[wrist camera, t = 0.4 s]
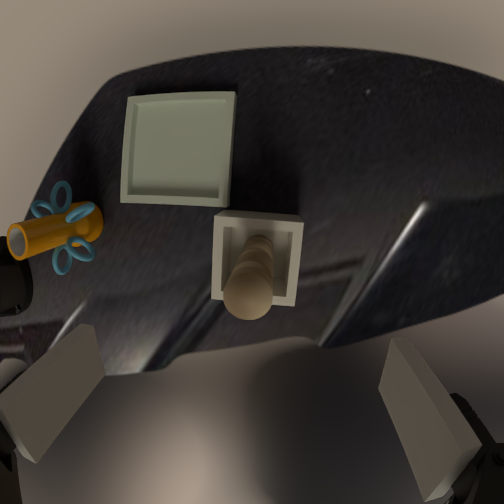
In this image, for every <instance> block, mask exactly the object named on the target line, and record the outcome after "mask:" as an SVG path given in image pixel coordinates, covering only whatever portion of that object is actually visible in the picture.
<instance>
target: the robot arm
mask: <svg viewBox="0 0 504 504" xmlns="http://www.w3.org/2000/svg"><path fill="white" fill-rule="evenodd" d="M32 295H33V284H32V277H31V273H30V269H29V266H28V263H27V261H26V259H23V260H16V259H15V258H14V257H13V256H12V255H11V253H10V251H9V248H8V244H7V237H5V236H1V237H0V317H5V316H14V315H18V314H20V313H21V312H23V311H25V310H26V309H27V308H28V307H29V306H30V303H31V301H32ZM105 374H106V373H105V370H104V366H103V362H102V359H101V355H100V351H99V347H98V343H97V339H96V335H95V331H94V326H92V325H86V324H80V325H79V326H77V327H76V328H75V329H74V330H73V331H71V332H70V333H69V334H68V335H67V336H65V337H64V338H63V339H62V340H61V341H59V342H58V343H57V344H56V345H55V346H54V347H52V348H51V349H50V350H49V351H48V352H47V353H45V354H44V355H43V356H42V357H41V358H40V359H39V360H37V361H36V362H35V363H34V364H33V365H32V366H31V367H29V368H28V369H26V370H24V371H22V372H20V373H19V374H17V375H16V376H15V377H14V378H13V379H12V381H10V382H9V383H7V384H6V386H4V387H3V388H2V389H1V390H0V504H22V498H21V493H20V486H19V477H18V468H17V458H16V454H15V452H14V451H13V450H14V449H15V448H16V447H17V448H18V449H19V451H20V452H21V454H22V455H23V457H25V458H27V459H29V460H30V461H32V462H34V463H36V464H37V463H38V462H39V460H40V459H41V457H42V456H43V455H44V453H45V452H46V451H47V449H48V448H49V447H50V445H51V444H52V442H53V441H54V440H55V439H56V437H57V436H58V434H59V433H60V432H61V430H62V429H63V428H64V427H65V425H66V424H67V423H68V421H69V420H70V419H71V417H72V416H73V415H74V413H75V412H76V411H77V410H78V408H79V407H80V406H81V404H82V403H83V402H84V401H85V399H86V398H87V397H88V395H89V394H90V393H91V391H92V390H93V389H94V388H95V386H96V385H97V384H98V383H99V381H100V380H101V379H102V378H103V377H104V375H105ZM378 389H379V391H380V394H381V395H382V398H383V400H384V402H385V405H386V407H387V409H388V412H389V414H390V416H391V419H392V421H393V423H394V426H395V428H396V431H397V433H398V435H399V438H400V440H401V443H402V445H403V448H404V450H405V453H406V455H407V457H408V460H409V463H410V465H411V468H412V470H413V473H414V476H415V478H416V481H417V484H418V486H419V489H420V492H421V495H422V497H423V500H424V502H426V501H429V500H432V499H435V498H438V497H441V496H443V495H444V494H445V493H446V492H447V491H448V490H449V488H450V487H452V489H453V491H454V494H453V495H452V496H451V497H450V498H449V499H448V500H447V501H446V502H445V503H444V504H504V443H496V442H495V441H494V439H493V438H492V436H491V435H490V433H489V432H488V430H487V429H486V427H485V426H484V425H483V423H482V421H481V420H480V419H479V418H477V414H476V413H475V412H474V410H473V411H472V407H471V406H470V405H469V403H468V402H467V400H466V399H464V398H463V397H461V396H460V395H459V394H457V393H453V394H448V392H447V391H446V390H445V388H444V387H443V385H442V384H441V382H440V381H439V380H438V378H437V377H436V376H435V374H434V373H433V372H432V370H431V369H430V367H429V366H428V365H427V363H426V362H425V361H424V359H423V358H422V357H421V355H420V354H419V353H418V351H417V350H416V349H415V347H414V346H413V345H412V343H411V342H410V341H409V339H408V338H407V337H401V338H392V339H391V341H390V346H389V350H388V354H387V358H386V362H385V366H384V370H383V373H382V377H381V381H380V384H379V388H378Z"/></svg>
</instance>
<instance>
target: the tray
mask: <svg viewBox="0 0 504 504" xmlns="http://www.w3.org/2000/svg"><path fill="white" fill-rule="evenodd" d="M236 106H237V95H236V93H235V92H226V91H216V92H181V93H165V94H152V95H142V96H133V97H128V102H127V110H126V119H125V129H124V140H123V153H122V171H121V203H151V204H176V205H196V206H214V207H228V206H230V190H231V175H232V160H233V145H234V132H235V118H236Z"/></svg>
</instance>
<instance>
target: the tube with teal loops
mask: <svg viewBox="0 0 504 504" xmlns="http://www.w3.org/2000/svg"><path fill="white" fill-rule="evenodd" d="M60 187H64V188H65V189H66V192H67V199H66V203H65V205H64V206H63V207H62V208H59V207H58V206H57V203H56V195H57V191H58V190H59V188H60ZM71 201H72V190H71V187H70V185H69V183H68V182H66V181H59V182H57V183H56V184H55V185H54V187H53V189H52V192H51V197H50V202H51V204H50V203H48V202H45V201H42V200H37V201H34V202H33V203H32V205H31V210H32V213H33V214H34V215H35V216H36V217H37V218H35V219H31V220H27V221H23V222H19V223H14V224H12V225H11V226H10V227H9V229H8V232H7V244H8V248H9V251H10V253H11V255H12V256H13V257H14V258H15V259H16V260H23V259H26V258H28V257H31V256H33V255H36V254H39V253H41V252H44V251H46V250H49V249H52V248H55V247H56V248H55V250H54V252H53V257H52V264H53V268H54V270H55V271H56V272H57V273H58V274H60V275H63V274H65V273H67V272H68V271H69V269H70V267H71V265H72V261H73V257H75V258H76V259H78V260H81V261H91V260H92V259H93V258H94V257H95V250H94V248H93V246H92V245H91V244H90V243H89V242H91V241H94V240H96V239H97V238H98V237H99V236H100V234H101V232H102V230H103V224H104V221H103V215H102V212H101V210H100V209H99V207H98V206H97V205H96V204H95V203H93V202H90V201H82V202H76V203H71ZM36 206H43V207H45V208H47V209H49V210H50V211H51V213H52V215H48V216H47V215H44V214H42V213H40V212H39V211H38V210H37V208H36ZM81 245H83V246H85V247H86V248H87V249H88V251H89V253H90V254H89V255H83V254H80V253H79V252H77V251H76V250H75V249H74V248H73V247H78V246H81ZM63 248H65V249H66V251H67V254H68V259H67V263H66V265H65V267H64V268H63V269H61V268H60V267H59V266H58V255H59V252H60V251H61V249H63Z"/></svg>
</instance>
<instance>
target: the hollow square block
mask: <svg viewBox="0 0 504 504" xmlns="http://www.w3.org/2000/svg"><path fill="white" fill-rule="evenodd" d="M303 225H304V223H303V221H302V220H301V218H300V217H299V216H298V215H290V214H279V213H266V212H253V211H239V210H224V211H222V212H220V213H219V214H217V215H215V216H214V235H213V262H212V297H211V299H218V300H223V292H224V289H225V286H226V284H227V282H228V280H229V278H230V275H231V273H232V271H233V269H234V267H235V265H236V262H237V260H238V258H239V256H240V254H241V251H242V249H243V247H244V245H245V243H246V241H247V240H248V239H249V238H250V237H251V236H253V235H264V236H266V237H268V238H269V239H270V240H271V242H272V244H273V300H272V305H285V306H294V305H295V297H296V289H297V281H298V272H299V264H300V255H301V245H302V235H303Z"/></svg>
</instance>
